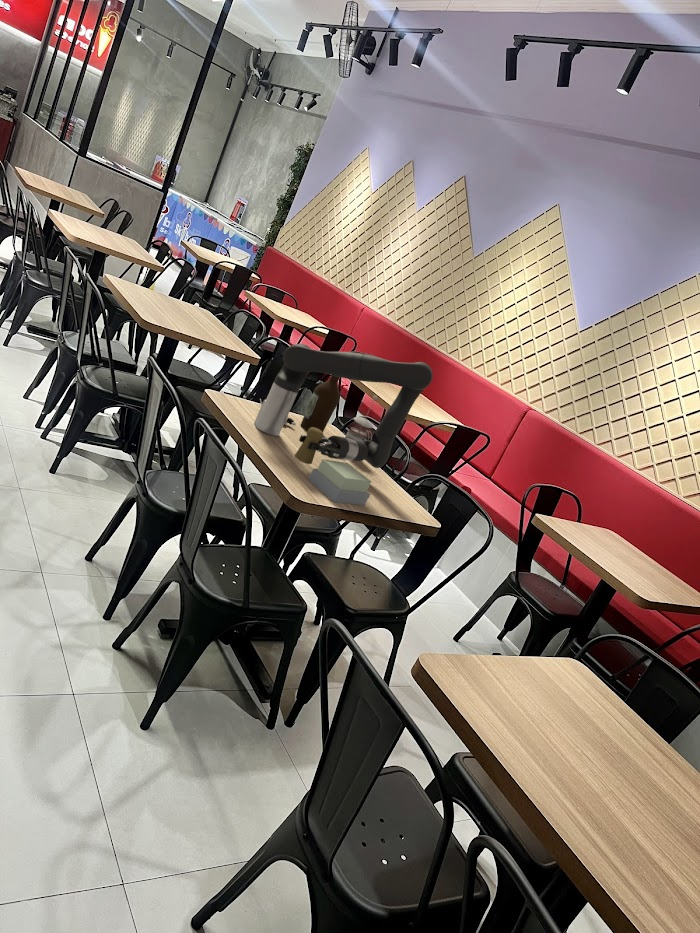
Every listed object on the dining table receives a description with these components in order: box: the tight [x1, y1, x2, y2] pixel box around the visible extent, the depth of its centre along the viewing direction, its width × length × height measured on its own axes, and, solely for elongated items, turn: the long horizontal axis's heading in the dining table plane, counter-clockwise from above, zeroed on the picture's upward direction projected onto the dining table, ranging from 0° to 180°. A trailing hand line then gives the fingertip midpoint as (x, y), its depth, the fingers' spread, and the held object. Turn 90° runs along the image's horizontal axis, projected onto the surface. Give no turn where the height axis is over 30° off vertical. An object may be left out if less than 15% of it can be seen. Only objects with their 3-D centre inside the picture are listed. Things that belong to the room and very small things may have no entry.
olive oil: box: [300, 375, 341, 433], centre depth 274 cm, size 11×11×25 cm
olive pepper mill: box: [294, 427, 324, 465], centre depth 222 cm, size 6×6×11 cm
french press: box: [344, 395, 378, 441], centre depth 266 cm, size 10×12×25 cm
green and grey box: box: [307, 458, 372, 506], centre depth 219 cm, size 14×14×8 cm
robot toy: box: [259, 398, 297, 426], centre depth 269 cm, size 12×4×15 cm
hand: (304, 441), depth 220 cm, fingers closed on olive pepper mill, 4 cm apart
